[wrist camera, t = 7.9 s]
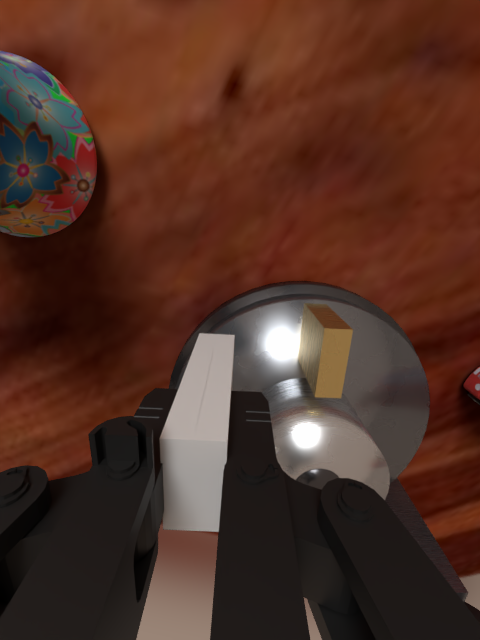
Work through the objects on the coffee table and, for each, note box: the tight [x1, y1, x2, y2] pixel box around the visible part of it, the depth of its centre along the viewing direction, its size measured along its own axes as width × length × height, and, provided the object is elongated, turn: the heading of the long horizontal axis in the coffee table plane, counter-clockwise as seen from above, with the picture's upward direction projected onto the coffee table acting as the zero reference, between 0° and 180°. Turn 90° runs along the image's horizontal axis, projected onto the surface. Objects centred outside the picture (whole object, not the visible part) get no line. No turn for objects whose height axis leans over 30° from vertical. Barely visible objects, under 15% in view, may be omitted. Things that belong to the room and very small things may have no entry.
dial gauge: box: [385, 478, 480, 623], centre depth 18 cm, size 6×5×13 cm
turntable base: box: [169, 281, 417, 389], centre depth 21 cm, size 17×17×1 cm
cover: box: [262, 378, 390, 500], centre depth 17 cm, size 7×7×5 cm
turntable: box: [175, 294, 430, 483], centre depth 18 cm, size 16×16×6 cm
